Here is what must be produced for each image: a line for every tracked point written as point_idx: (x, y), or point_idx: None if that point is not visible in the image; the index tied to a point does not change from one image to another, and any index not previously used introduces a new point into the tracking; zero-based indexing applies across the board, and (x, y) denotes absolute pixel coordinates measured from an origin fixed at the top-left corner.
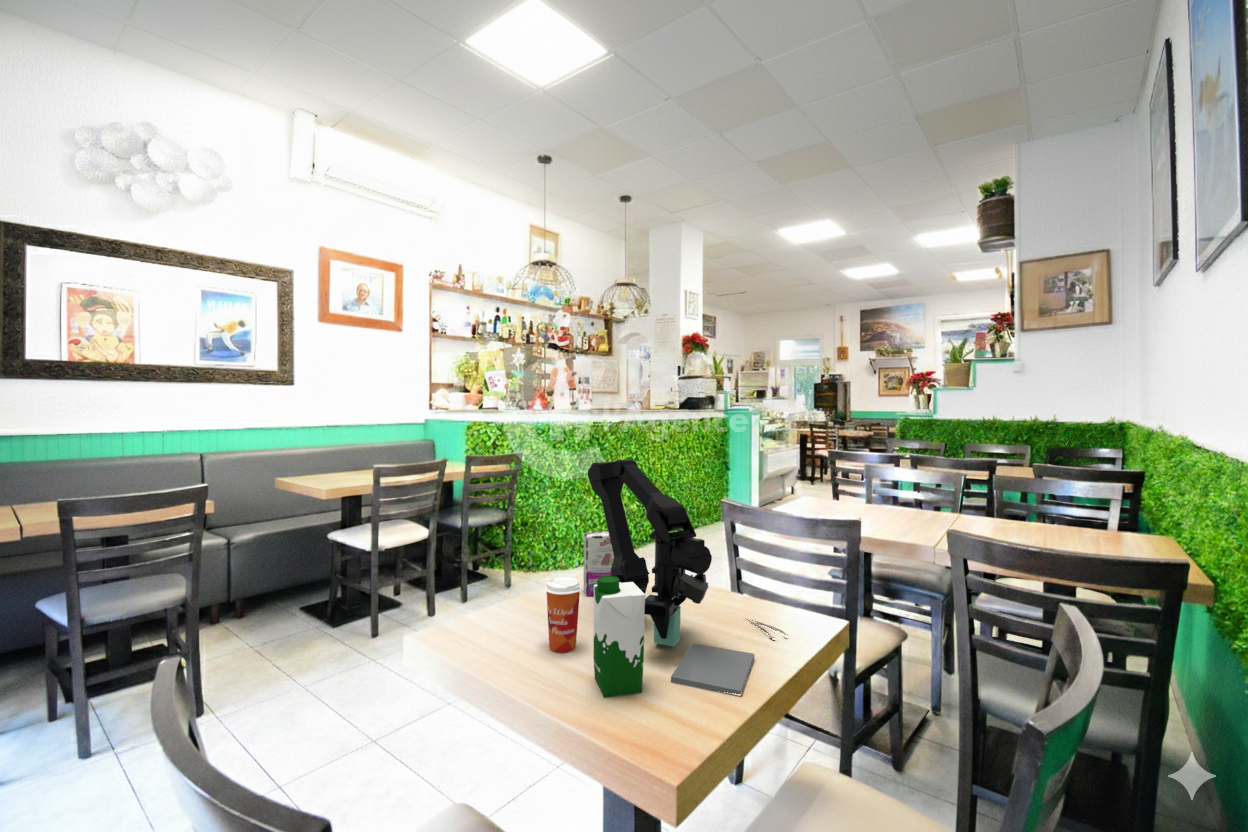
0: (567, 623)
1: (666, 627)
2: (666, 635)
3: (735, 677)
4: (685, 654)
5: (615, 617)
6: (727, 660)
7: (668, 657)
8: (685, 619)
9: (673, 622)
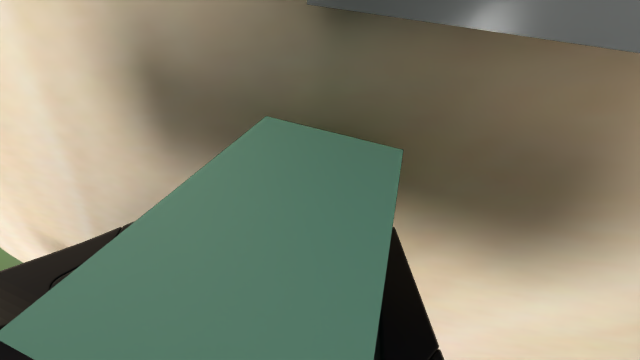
0: None
1: (431, 331)
2: (395, 243)
3: None
4: (592, 43)
5: None
6: None
7: (507, 165)
8: (48, 95)
9: (376, 322)
